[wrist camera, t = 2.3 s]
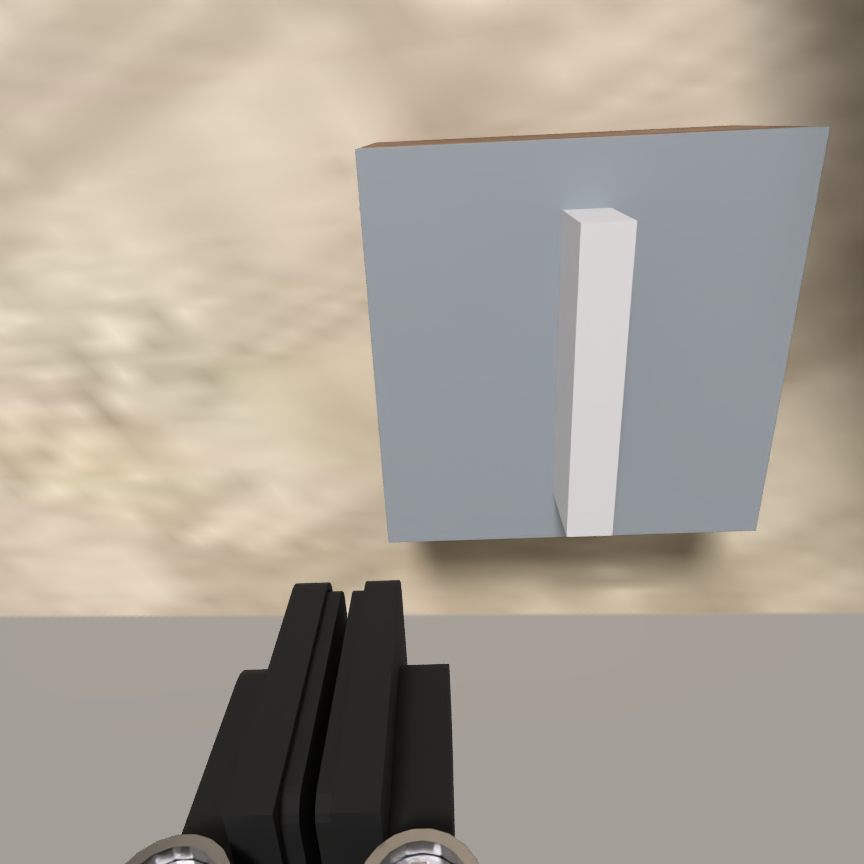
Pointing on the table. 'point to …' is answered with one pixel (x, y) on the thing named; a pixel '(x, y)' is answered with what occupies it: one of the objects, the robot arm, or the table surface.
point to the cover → (583, 328)
